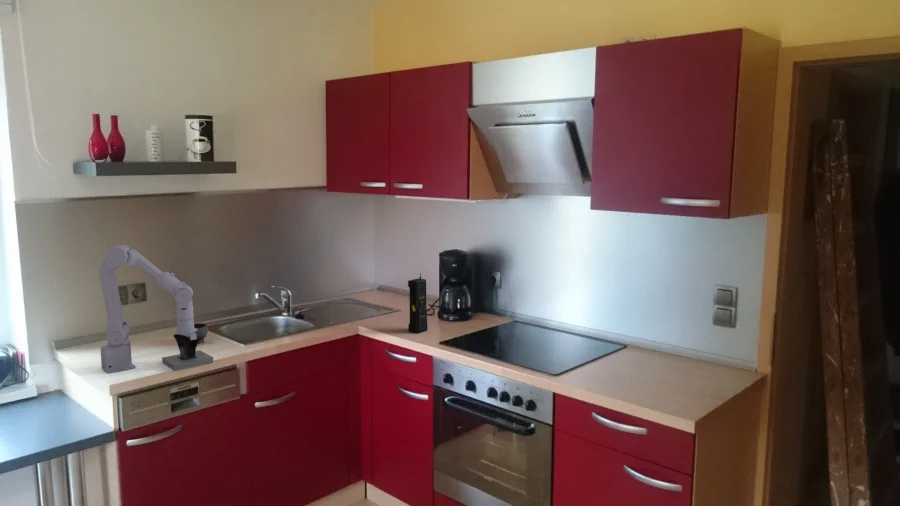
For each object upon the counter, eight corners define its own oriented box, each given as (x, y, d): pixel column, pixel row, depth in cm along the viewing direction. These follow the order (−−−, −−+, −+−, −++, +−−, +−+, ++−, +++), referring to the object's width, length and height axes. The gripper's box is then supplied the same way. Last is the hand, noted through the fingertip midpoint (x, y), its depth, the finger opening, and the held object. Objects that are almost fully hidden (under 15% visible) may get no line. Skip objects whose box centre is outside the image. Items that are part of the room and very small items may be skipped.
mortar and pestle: (196, 338, 274) (194, 310, 272) (213, 340, 270) (212, 312, 269) (175, 345, 264) (174, 316, 262) (193, 347, 260) (192, 318, 258)
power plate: (174, 370, 232) (173, 364, 232) (162, 362, 241) (161, 356, 241) (213, 362, 242) (212, 356, 241) (200, 355, 250) (199, 349, 250)
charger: (184, 365, 239) (183, 346, 238) (180, 362, 242) (179, 344, 241) (195, 362, 241) (194, 344, 240) (191, 360, 244) (190, 342, 243)
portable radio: (417, 334, 281) (416, 276, 277) (406, 332, 284) (406, 275, 281) (428, 330, 287) (428, 274, 283) (418, 328, 291) (417, 272, 287)
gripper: (204, 320, 236) (206, 357, 238) (188, 313, 247) (190, 348, 249) (184, 323, 232) (186, 361, 234) (169, 316, 242) (171, 352, 244)
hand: (187, 355), depth 241 cm, fingers open, 7 cm apart
